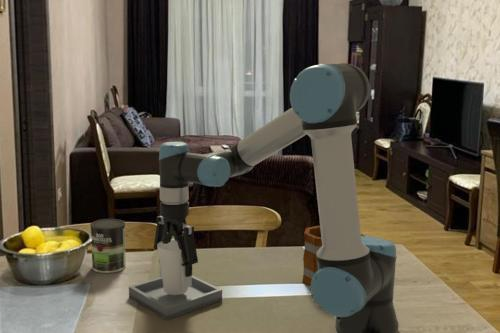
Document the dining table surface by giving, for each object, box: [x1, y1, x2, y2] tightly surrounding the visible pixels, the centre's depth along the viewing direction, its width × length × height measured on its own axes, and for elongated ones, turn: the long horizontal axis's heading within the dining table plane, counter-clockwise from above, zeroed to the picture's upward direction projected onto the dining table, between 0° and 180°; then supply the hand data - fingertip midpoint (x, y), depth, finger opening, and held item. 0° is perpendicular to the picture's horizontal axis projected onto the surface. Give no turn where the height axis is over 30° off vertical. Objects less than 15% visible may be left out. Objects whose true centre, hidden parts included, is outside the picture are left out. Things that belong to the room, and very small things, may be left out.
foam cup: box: [156, 238, 188, 295], centre depth 160 cm, size 10×9×13 cm
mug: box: [301, 224, 365, 288], centre depth 174 cm, size 20×14×15 cm
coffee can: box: [90, 218, 127, 274], centre depth 182 cm, size 10×10×14 cm
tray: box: [128, 274, 223, 320], centre depth 161 cm, size 18×18×3 cm
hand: (175, 281), depth 160 cm, fingers closed on foam cup, 9 cm apart
